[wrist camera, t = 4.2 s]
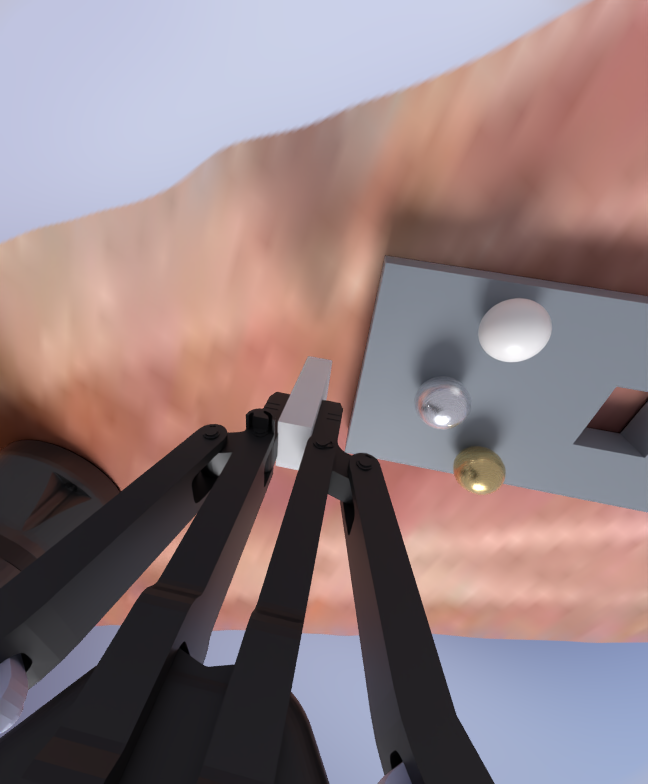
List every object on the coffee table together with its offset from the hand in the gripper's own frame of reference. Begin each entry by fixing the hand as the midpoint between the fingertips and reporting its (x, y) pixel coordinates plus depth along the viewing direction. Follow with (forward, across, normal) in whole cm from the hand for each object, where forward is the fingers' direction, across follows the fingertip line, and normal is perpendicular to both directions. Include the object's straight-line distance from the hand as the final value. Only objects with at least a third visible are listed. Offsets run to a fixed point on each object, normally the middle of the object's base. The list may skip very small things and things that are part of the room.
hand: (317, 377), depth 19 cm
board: (+4, +14, 0) cm, 15 cm away
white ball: (0, +10, +5) cm, 11 cm away
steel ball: (0, +8, 0) cm, 8 cm away
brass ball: (0, +12, -5) cm, 13 cm away
